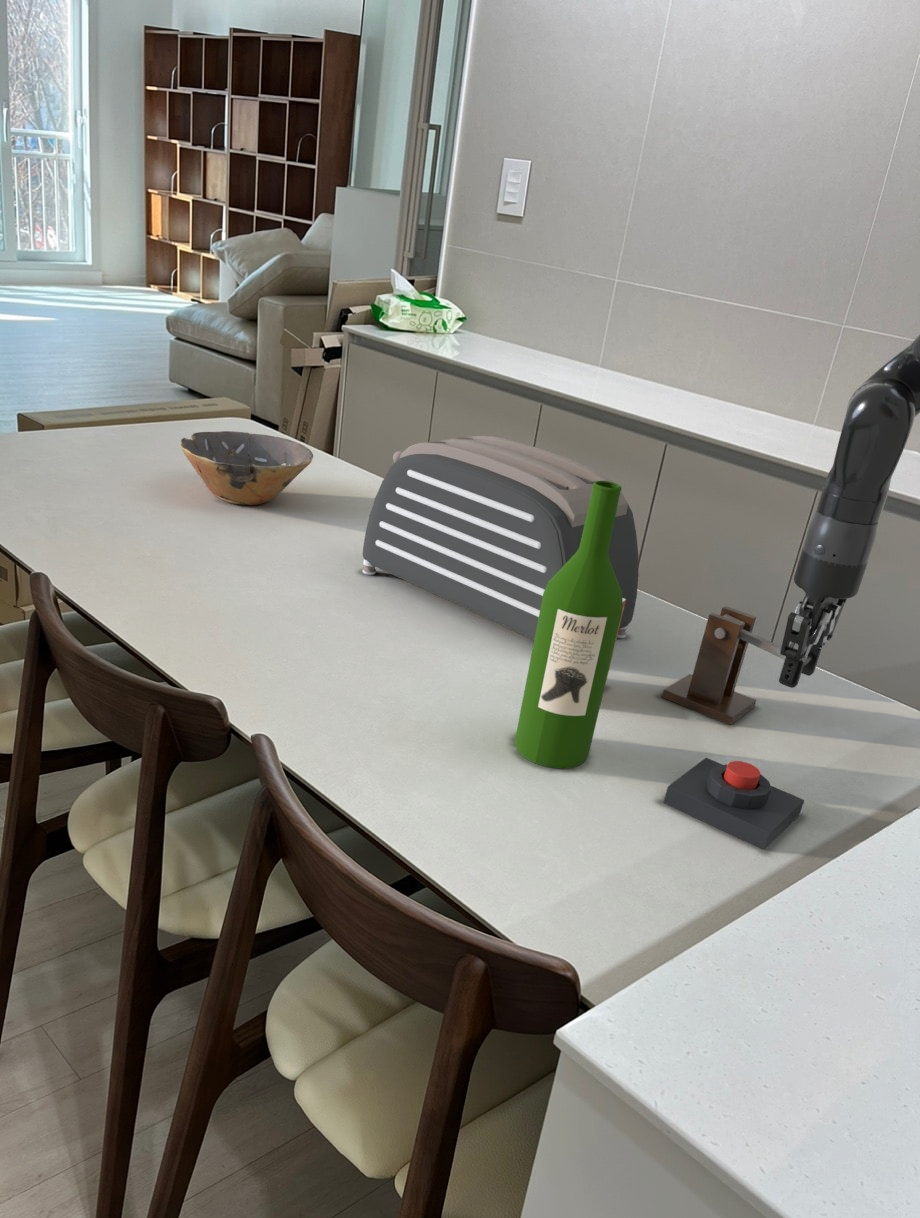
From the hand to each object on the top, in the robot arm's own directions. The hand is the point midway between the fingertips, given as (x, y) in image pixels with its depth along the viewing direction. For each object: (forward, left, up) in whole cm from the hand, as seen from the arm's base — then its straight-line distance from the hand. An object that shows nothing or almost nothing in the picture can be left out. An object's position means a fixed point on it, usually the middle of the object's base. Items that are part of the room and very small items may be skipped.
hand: (795, 678), depth 135 cm
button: (-4, +24, -4) cm, 25 cm away
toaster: (+51, -4, -8) cm, 52 cm away
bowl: (+109, -7, -8) cm, 110 cm away
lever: (+6, 0, +2) cm, 6 cm away
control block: (-4, +24, -8) cm, 26 cm away
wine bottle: (+17, +29, -8) cm, 35 cm away
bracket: (+10, 0, -8) cm, 13 cm away
